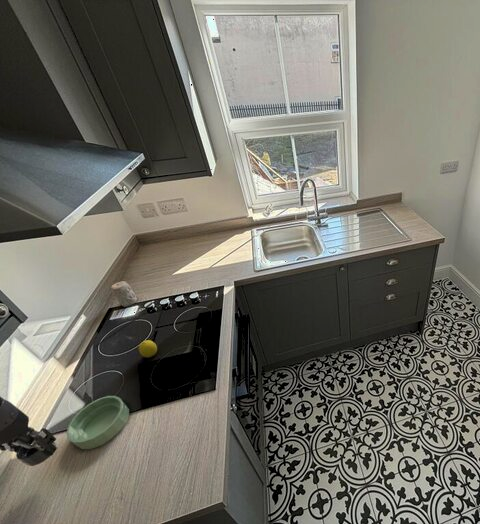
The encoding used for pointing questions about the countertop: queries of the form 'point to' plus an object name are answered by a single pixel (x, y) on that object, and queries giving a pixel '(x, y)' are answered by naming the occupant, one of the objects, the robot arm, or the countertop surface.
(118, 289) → the carving
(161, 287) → the countertop surface
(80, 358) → the countertop surface
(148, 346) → the lemon
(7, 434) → the robot arm
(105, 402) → the big bowl
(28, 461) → the small bowl
